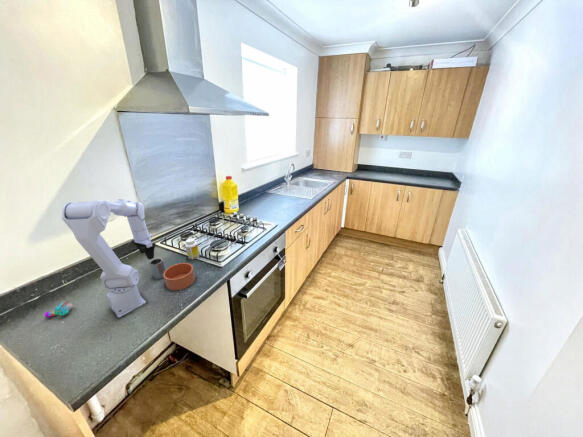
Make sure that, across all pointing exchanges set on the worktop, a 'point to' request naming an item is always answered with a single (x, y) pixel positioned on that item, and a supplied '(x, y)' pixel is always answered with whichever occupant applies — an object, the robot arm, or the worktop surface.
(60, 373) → the worktop surface
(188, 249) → the supplement bottle
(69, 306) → the multicoloured toy
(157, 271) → the steel cup
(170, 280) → the terracotta round bowl
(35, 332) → the worktop surface
